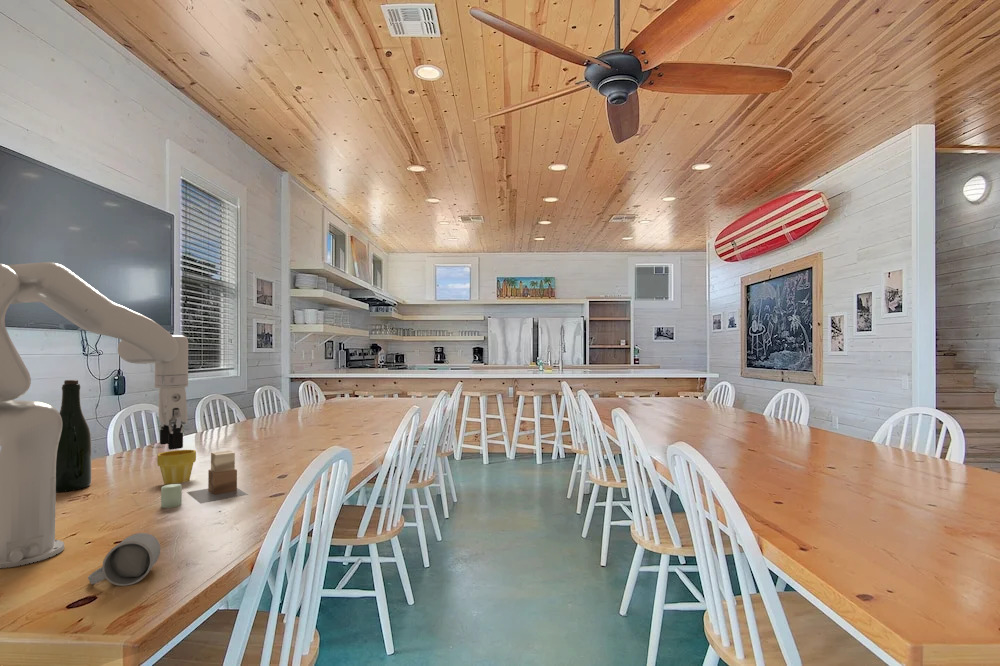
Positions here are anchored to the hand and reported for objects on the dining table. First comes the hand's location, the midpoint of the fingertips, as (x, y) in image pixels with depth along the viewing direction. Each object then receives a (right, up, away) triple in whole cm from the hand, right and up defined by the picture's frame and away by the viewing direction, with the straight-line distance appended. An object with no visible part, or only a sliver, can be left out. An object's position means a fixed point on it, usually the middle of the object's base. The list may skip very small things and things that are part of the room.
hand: (171, 446), depth 139 cm
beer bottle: (-44, -18, +21) cm, 52 cm away
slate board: (+6, -17, +11) cm, 21 cm away
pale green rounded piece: (0, -17, -1) cm, 17 cm away
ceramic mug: (+18, -16, -42) cm, 49 cm away
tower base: (+7, -16, +13) cm, 22 cm away
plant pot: (-14, -18, +25) cm, 34 cm away
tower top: (+6, -10, +14) cm, 18 cm away
